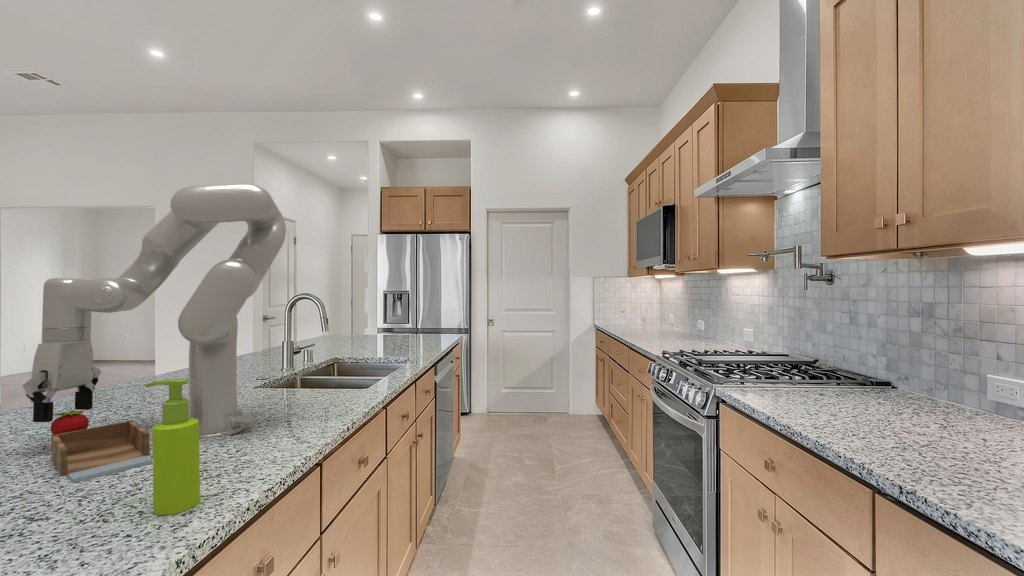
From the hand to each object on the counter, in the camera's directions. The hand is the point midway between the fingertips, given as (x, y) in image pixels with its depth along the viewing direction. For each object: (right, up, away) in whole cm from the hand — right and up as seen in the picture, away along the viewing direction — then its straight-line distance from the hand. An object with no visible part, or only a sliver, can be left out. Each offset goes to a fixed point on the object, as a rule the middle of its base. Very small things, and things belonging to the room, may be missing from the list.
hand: (64, 415), depth 96 cm
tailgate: (+20, -7, -11) cm, 23 cm away
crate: (+14, -8, -6) cm, 17 cm away
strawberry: (+1, -8, 0) cm, 8 cm away
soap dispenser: (+43, -7, -25) cm, 50 cm away
